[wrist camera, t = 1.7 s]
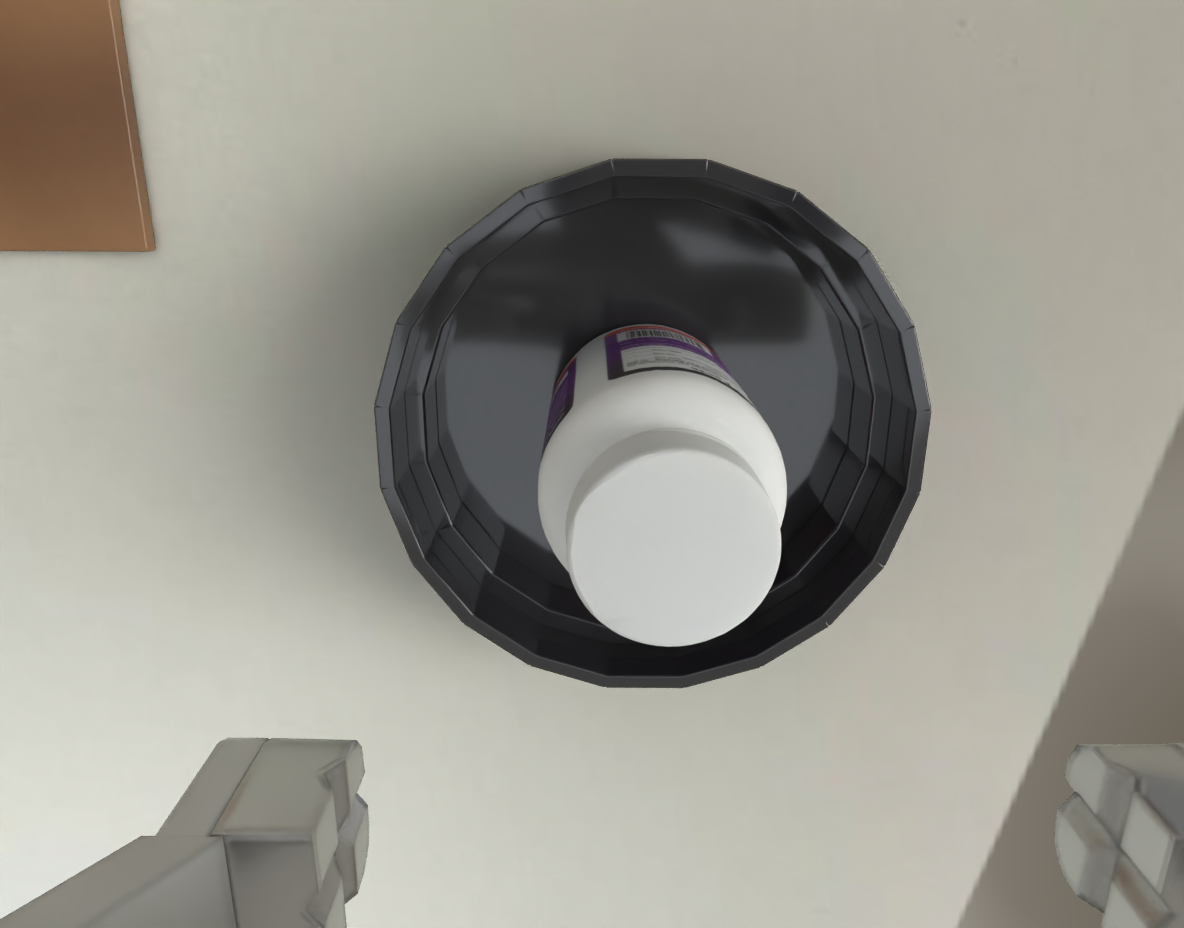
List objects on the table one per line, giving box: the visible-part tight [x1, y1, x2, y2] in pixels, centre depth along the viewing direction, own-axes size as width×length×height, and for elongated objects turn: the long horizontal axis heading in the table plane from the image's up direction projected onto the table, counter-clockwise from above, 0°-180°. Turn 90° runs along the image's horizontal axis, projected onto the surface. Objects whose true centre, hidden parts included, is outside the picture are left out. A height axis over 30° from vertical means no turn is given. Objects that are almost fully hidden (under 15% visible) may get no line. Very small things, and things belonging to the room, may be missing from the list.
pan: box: [374, 158, 931, 688], centre depth 23 cm, size 14×14×4 cm
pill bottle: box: [538, 324, 787, 647], centre depth 20 cm, size 5×5×10 cm
